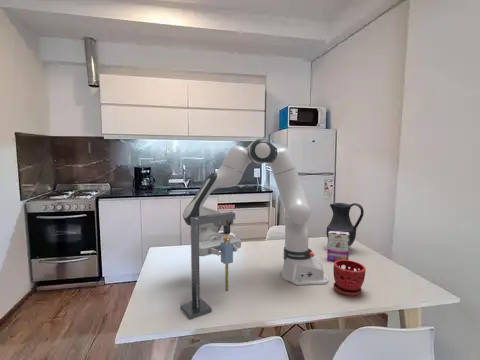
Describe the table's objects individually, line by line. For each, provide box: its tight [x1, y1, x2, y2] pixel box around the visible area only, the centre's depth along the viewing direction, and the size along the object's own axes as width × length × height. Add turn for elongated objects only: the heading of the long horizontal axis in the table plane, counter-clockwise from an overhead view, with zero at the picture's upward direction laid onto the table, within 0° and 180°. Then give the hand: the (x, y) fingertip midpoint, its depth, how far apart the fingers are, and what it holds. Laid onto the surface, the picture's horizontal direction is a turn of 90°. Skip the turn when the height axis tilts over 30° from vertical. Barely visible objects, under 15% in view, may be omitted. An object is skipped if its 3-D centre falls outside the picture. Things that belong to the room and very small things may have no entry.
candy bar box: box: [326, 231, 350, 263], centre depth 164 cm, size 11×5×16 cm, turn 68°
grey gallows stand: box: [179, 211, 236, 320], centre depth 116 cm, size 22×9×36 cm, turn 124°
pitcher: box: [326, 202, 364, 248], centre depth 179 cm, size 17×21×30 cm
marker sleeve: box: [220, 242, 234, 265], centre depth 120 cm, size 4×4×8 cm
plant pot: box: [332, 260, 367, 296], centre depth 130 cm, size 13×13×12 cm
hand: (228, 251), depth 119 cm, fingers open, 6 cm apart
